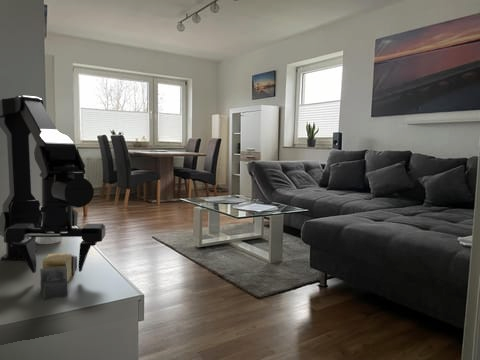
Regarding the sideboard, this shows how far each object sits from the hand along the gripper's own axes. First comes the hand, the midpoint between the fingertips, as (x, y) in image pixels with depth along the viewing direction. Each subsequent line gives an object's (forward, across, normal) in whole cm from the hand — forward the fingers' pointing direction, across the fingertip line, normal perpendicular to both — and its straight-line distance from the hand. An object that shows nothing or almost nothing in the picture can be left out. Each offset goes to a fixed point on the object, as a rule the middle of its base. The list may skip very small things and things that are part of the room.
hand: (57, 271), depth 78 cm
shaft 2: (+2, 0, -6) cm, 6 cm away
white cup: (+2, +11, -32) cm, 34 cm away
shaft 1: (+2, -1, +6) cm, 6 cm away
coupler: (+2, 0, 0) cm, 2 cm away
